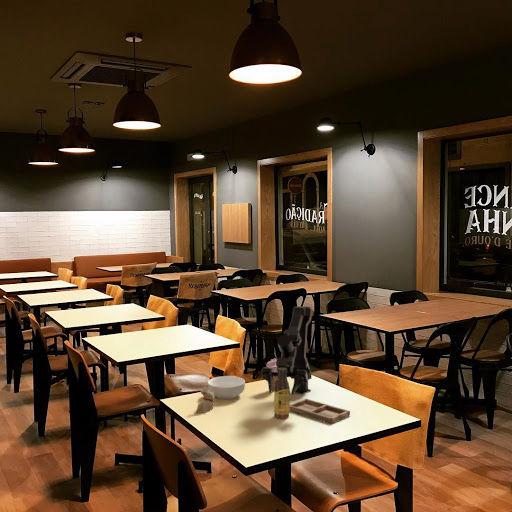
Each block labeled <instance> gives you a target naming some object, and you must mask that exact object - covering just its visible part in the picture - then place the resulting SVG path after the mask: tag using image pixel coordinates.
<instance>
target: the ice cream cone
mask: <svg viewBox="0 0 512 512" xmlns="http://www.w3.org/2000/svg"><path fill="white" fill-rule="evenodd" d="M265 367H267V368H272V370H273V371H277V366H276V358H275V357H274V358H273V359H270V361H267V363H266V366H265ZM277 377H278V376H274V377H273V386H272V391H271V392H274V390H275V383H276V381H277V380H278V378H277Z"/></svg>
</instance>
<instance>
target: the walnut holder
mask: <svg viewBox="0 0 512 512" xmlns="http://www.w3.org/2000/svg"><path fill="white" fill-rule="evenodd" d="M289 412H291V413H295V414H298V415H302V416H304V417H308V418H311V419H314V418H315V420H317V419H318V420H317V421H320V420H322V421H321V422H323V421H325V422H324V423H327V422H328V423H327V424H330V423H331V424H330V425H332V424H335V423H336V421H337V422H339V421H342V420H344V419H346V418H348V417H347V416H349V415H350V416H351V410H348V409H343V408H342V407H341V408H340V407H337V406H334V405H329V404H326V403H323V402H319V401H316V400H312V399H310V398H304V399H301V400H299V401H297V402H293V403H291V404H290V410H289ZM350 416H349V417H350ZM345 417H346V418H345ZM343 418H344V419H343ZM341 419H342V420H341ZM338 420H339V421H338ZM334 422H335V423H334Z"/></svg>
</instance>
